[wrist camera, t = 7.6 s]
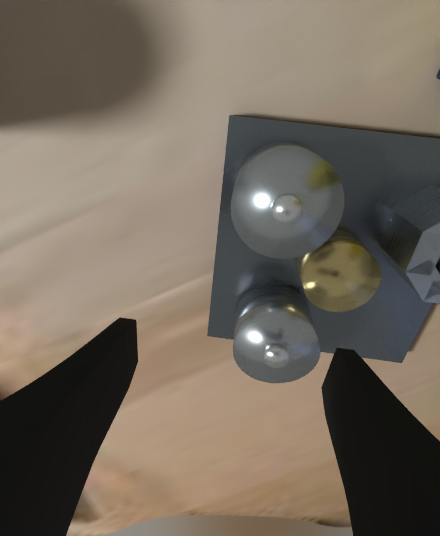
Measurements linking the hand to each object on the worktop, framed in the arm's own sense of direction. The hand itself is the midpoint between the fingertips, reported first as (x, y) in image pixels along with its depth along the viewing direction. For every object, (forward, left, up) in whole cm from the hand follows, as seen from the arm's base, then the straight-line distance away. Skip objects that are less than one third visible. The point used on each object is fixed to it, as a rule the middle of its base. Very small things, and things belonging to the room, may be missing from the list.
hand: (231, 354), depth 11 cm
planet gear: (+3, -10, -9) cm, 14 cm away
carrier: (0, -6, -10) cm, 11 cm away
